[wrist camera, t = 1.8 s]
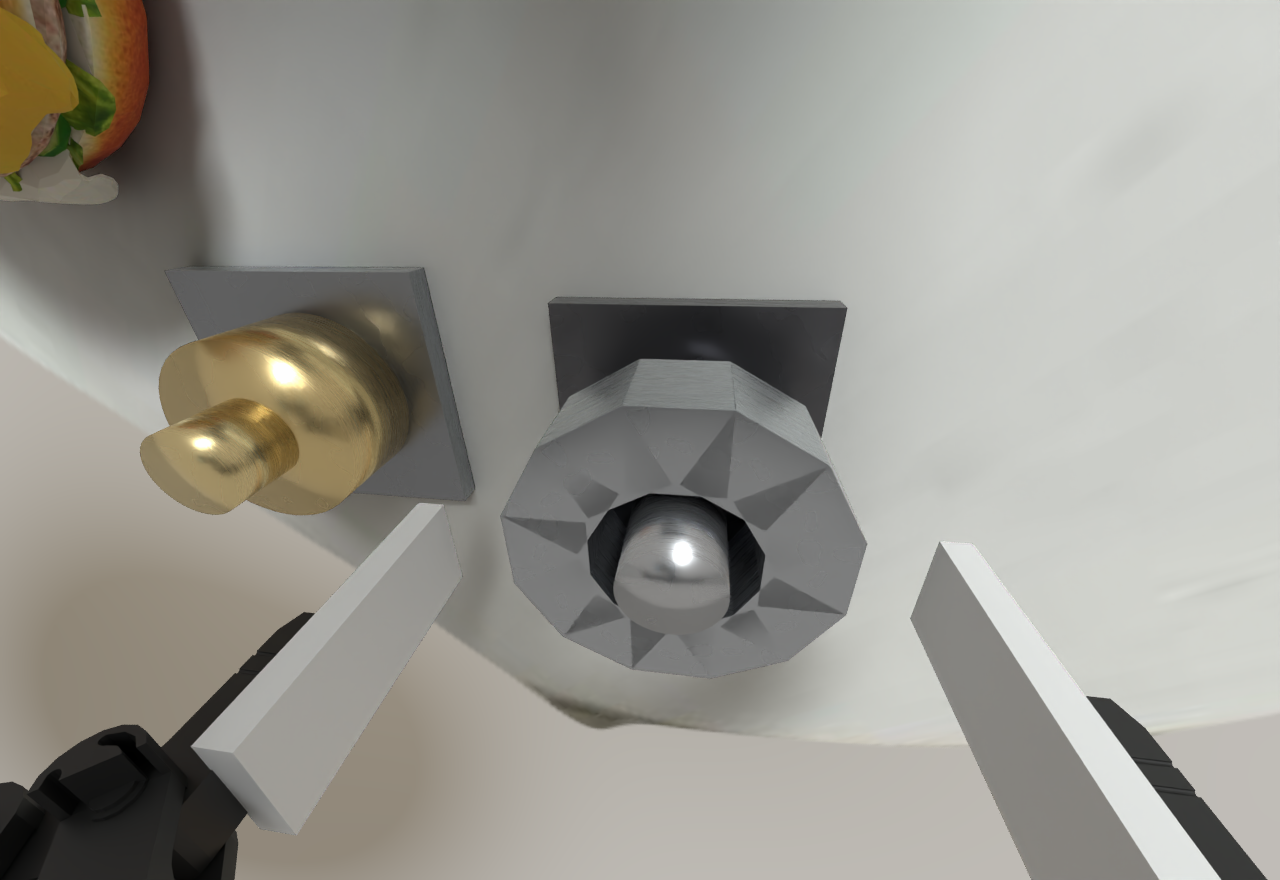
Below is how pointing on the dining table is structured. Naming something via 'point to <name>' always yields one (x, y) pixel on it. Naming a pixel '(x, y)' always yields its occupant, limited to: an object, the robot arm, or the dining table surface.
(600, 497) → the grey faceted ring
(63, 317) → the dining table surface
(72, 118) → the burger
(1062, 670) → the robot arm
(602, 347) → the stand
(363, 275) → the hub
